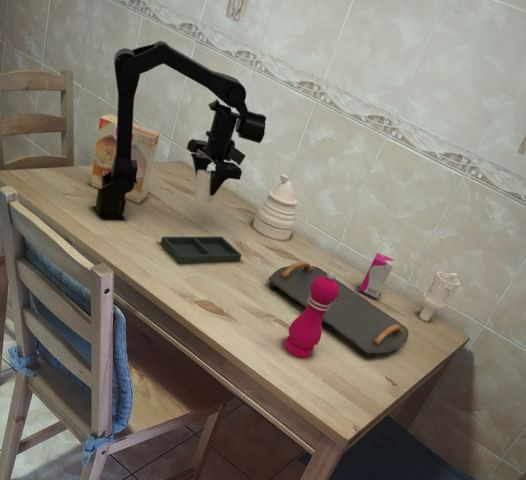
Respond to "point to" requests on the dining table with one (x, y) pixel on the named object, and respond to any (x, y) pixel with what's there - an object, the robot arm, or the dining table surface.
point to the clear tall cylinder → (438, 293)
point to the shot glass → (203, 187)
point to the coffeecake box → (140, 151)
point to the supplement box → (376, 275)
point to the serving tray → (344, 310)
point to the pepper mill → (312, 316)
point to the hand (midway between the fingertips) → (205, 189)
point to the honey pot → (277, 211)
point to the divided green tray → (200, 249)
